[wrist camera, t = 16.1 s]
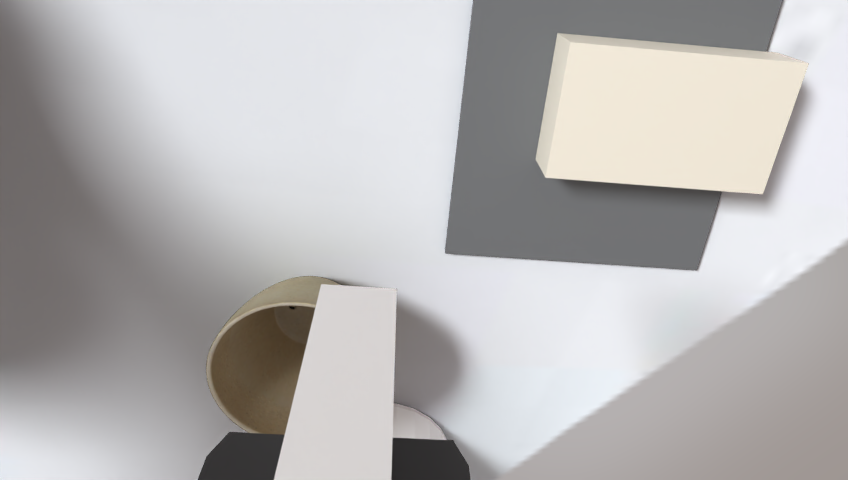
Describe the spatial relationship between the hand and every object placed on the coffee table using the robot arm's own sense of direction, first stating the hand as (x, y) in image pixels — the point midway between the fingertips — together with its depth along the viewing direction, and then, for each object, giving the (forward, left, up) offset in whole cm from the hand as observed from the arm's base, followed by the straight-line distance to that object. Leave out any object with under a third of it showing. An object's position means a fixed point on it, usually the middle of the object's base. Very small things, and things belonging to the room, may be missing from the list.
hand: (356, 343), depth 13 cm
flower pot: (-4, -15, -24) cm, 29 cm away
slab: (+9, 0, -22) cm, 24 cm away
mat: (+12, +1, -24) cm, 27 cm away
